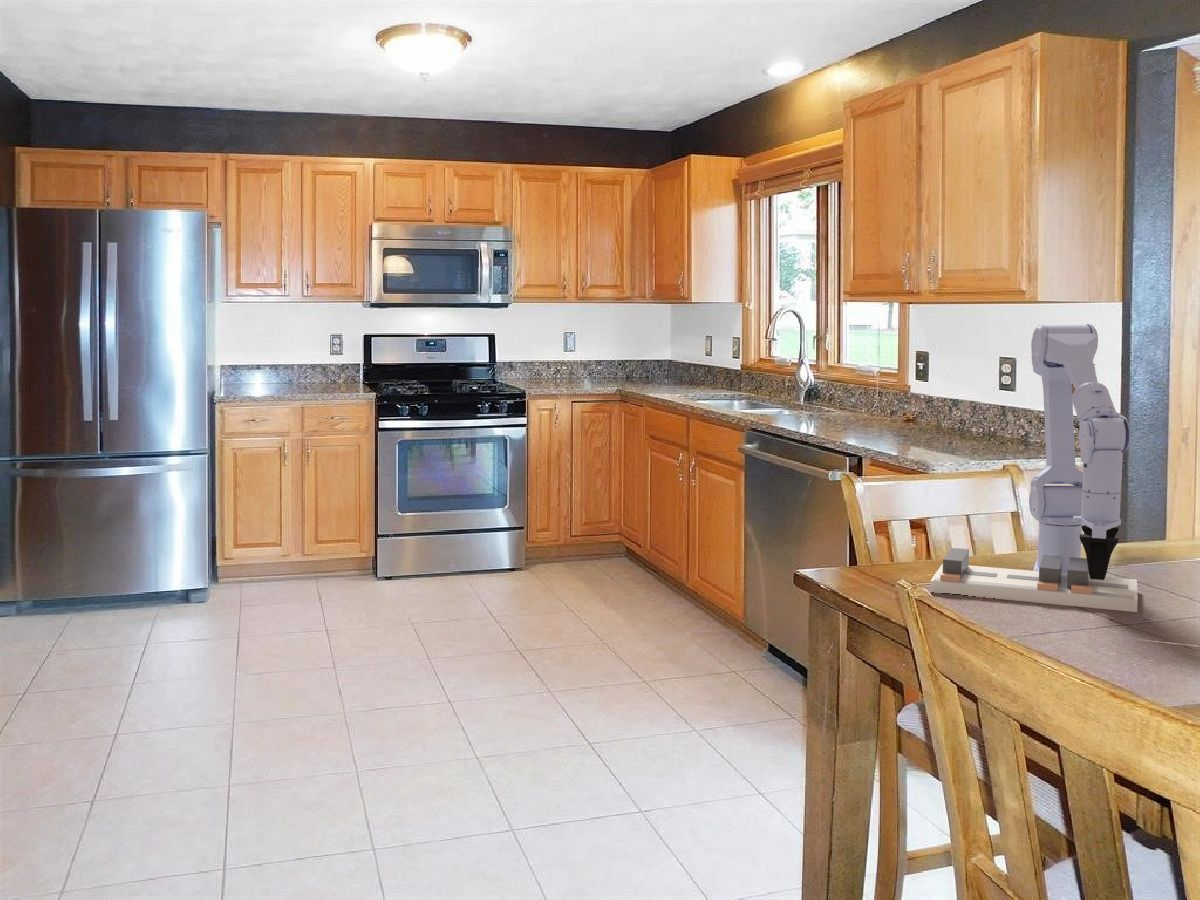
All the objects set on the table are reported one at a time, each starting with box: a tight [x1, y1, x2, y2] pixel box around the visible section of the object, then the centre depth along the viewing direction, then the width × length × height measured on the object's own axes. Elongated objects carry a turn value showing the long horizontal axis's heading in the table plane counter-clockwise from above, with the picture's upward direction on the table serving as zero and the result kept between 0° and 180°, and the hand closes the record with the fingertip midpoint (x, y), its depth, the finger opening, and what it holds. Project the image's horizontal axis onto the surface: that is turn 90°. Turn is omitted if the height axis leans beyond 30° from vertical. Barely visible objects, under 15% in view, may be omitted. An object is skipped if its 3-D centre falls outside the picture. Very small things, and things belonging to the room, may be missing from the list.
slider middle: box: [1039, 555, 1062, 587], centre depth 184 cm, size 10×3×3 cm, turn 155°
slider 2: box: [1067, 557, 1089, 588], centre depth 182 cm, size 10×3×3 cm, turn 155°
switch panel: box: [929, 563, 1139, 613], centre depth 184 cm, size 14×31×3 cm, turn 65°
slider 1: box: [942, 547, 970, 579], centre depth 190 cm, size 10×3×3 cm, turn 155°
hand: (1097, 573), depth 181 cm, fingers open, 7 cm apart
